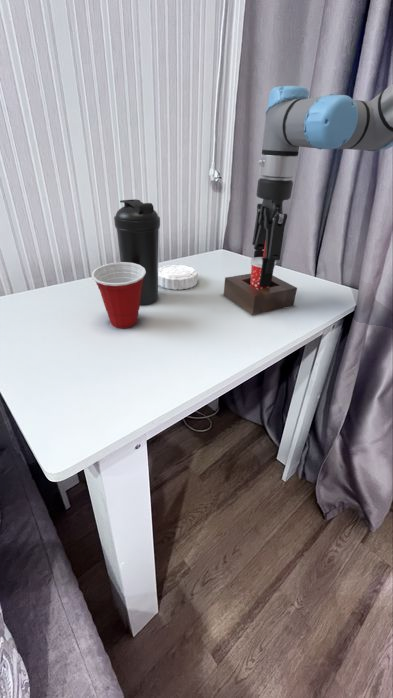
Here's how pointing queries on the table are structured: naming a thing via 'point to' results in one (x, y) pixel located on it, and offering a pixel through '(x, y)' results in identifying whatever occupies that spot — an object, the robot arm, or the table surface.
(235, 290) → the holder
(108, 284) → the plastic cup
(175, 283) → the mooncake
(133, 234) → the water bottle
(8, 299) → the table surface
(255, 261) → the beverage cup
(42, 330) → the table surface
